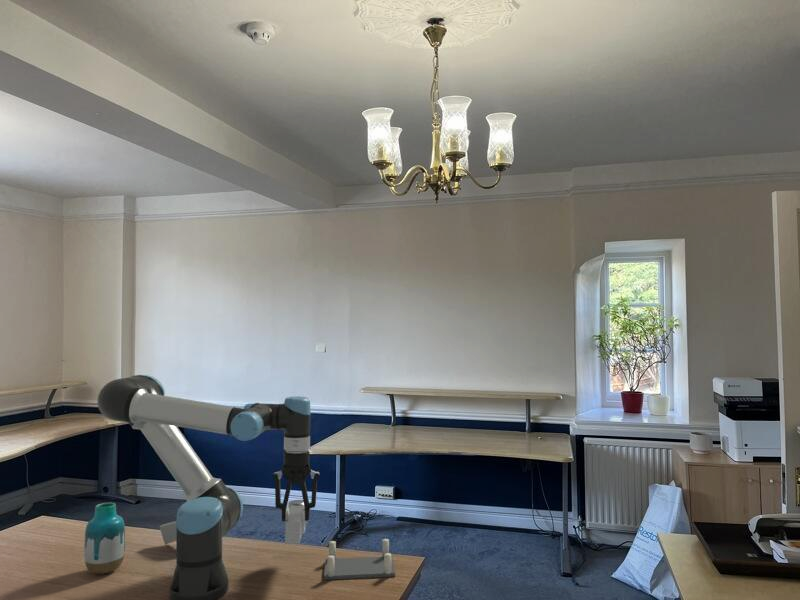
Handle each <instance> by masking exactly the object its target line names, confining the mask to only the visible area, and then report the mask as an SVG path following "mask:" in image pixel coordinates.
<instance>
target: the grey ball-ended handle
mask: <svg viewBox="0 0 800 600" xmlns="http://www.w3.org/2000/svg"><path fill="white" fill-rule="evenodd" d="M288 508H289V513H288V516H287V519H286V524H285V525H284V527H285V529H284V531H285V532H284V533H285V534H284V536H285V537H284V539H285V540H284V545H287V544H288V545H289V544H291V545H292V544H294V545H296V544H300V543H301V540H302V535H303V534H302V510H303V508H305V507H304V501H303V499H294V500H290V501H288ZM308 523H309V520H308V521H305V526H306V525H307V524H308Z"/></svg>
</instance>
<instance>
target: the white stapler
mask: <svg viewBox="0 0 800 600" xmlns="http://www.w3.org/2000/svg"><path fill="white" fill-rule="evenodd" d="M159 529H160V530H159V531H160V533H161V536H162V540H163V543H164V545H167V544H168V545H169V544H171V543H174V542H176V520H175V521H170V522H167V523H164V524H162V525H159Z"/></svg>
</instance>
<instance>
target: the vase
mask: <svg viewBox="0 0 800 600" xmlns="http://www.w3.org/2000/svg"><path fill="white" fill-rule="evenodd" d="M125 527H126V525H125V521H124V518H123V517H122V516H121V515H119V514H117V505H116V503H115V502H110V501H109V502H103V503H99V504H96V505H95V507H94V516H93V517H92V519H90V520H89V521H88V522H87V524H86V526H85V531H84V547H83V548H84V562H85V567H86V569H87V570H88V571H89V572H90V573H91V574H95V575H96V574H97V575H103V574H108V573H111V572H113V571H115V570H117V569H118V568H120V566H121V565H122V563H123V561H124V558H125V551H126V528H125Z"/></svg>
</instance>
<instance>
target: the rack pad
mask: <svg viewBox="0 0 800 600" xmlns="http://www.w3.org/2000/svg"><path fill="white" fill-rule="evenodd" d="M381 546H382V547H381V549H382V551H381V553H382V555H381V556H362V557H361V556H360V557H338V558H337V557H336V556H337V552H336V551H337V541H334V540H330V541H329V542H328V556H327V558H325V564H324V570H323V580H325V581H327V580H348V579H349V580H351V579H371V578H372V577H374V578H389V577H390V578H393V577H394V578H395V577H396V570H395V565H394V558H393V556H392V554H391V553H390V539H388V538H384V539H382V541H381Z"/></svg>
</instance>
